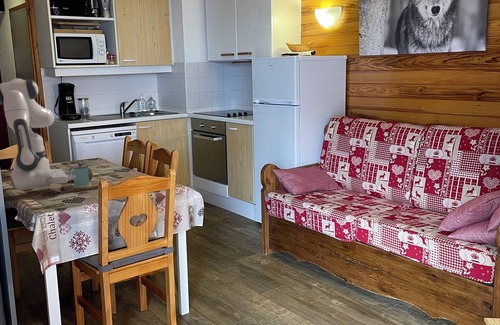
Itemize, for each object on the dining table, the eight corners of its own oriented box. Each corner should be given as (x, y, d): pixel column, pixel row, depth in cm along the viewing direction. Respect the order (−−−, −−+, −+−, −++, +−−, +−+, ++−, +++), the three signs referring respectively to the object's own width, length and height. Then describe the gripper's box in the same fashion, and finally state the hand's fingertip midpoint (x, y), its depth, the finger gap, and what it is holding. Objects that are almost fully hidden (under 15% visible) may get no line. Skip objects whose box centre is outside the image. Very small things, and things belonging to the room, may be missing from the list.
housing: (74, 184, 266) (72, 162, 263) (87, 182, 269) (85, 160, 266) (75, 186, 261) (73, 164, 259) (89, 184, 264) (87, 162, 262)
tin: (93, 181, 279) (92, 166, 277) (89, 183, 276) (88, 168, 274) (71, 179, 284) (70, 165, 283) (68, 181, 281) (66, 166, 280)
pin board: (62, 187, 267) (61, 178, 266) (96, 182, 275) (96, 174, 274) (66, 192, 255) (65, 183, 254) (102, 188, 263) (101, 178, 262)
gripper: (47, 175, 246) (77, 172, 253) (43, 168, 264) (70, 165, 270) (48, 188, 248) (78, 184, 254) (44, 180, 265) (71, 176, 272)
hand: (74, 174), depth 262 cm, fingers open, 8 cm apart
